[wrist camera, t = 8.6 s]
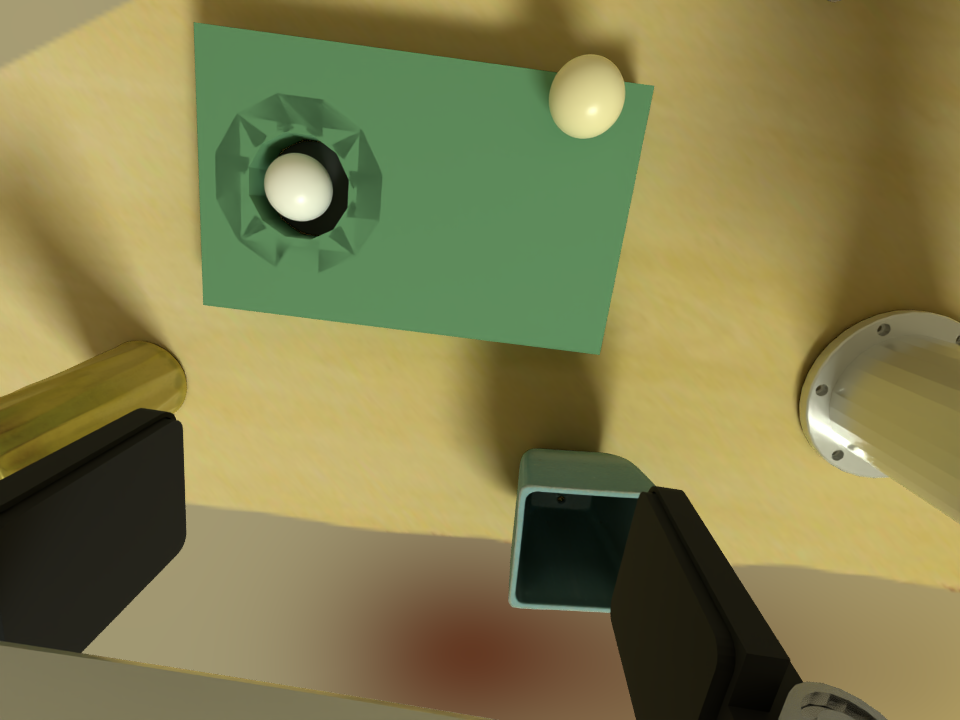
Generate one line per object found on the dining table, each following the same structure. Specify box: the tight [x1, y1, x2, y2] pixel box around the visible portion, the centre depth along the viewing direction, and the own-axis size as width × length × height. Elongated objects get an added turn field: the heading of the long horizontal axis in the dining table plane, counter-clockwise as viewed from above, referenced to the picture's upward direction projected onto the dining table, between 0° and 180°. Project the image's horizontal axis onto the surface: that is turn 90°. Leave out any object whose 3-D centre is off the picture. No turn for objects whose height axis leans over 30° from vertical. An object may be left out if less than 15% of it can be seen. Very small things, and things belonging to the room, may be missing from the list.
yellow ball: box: [549, 54, 625, 139], centre depth 27 cm, size 4×4×4 cm
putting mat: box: [194, 22, 654, 355], centre depth 32 cm, size 26×16×3 cm, turn 83°
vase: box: [0, 341, 187, 480], centre depth 30 cm, size 6×6×14 cm
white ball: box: [264, 153, 333, 221], centre depth 31 cm, size 4×4×4 cm
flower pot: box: [508, 449, 655, 613], centre depth 35 cm, size 9×9×9 cm
